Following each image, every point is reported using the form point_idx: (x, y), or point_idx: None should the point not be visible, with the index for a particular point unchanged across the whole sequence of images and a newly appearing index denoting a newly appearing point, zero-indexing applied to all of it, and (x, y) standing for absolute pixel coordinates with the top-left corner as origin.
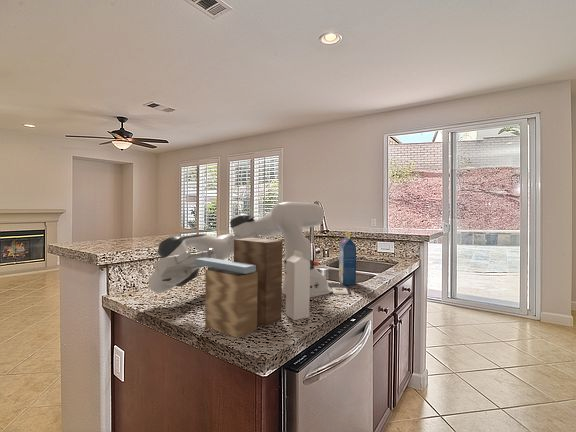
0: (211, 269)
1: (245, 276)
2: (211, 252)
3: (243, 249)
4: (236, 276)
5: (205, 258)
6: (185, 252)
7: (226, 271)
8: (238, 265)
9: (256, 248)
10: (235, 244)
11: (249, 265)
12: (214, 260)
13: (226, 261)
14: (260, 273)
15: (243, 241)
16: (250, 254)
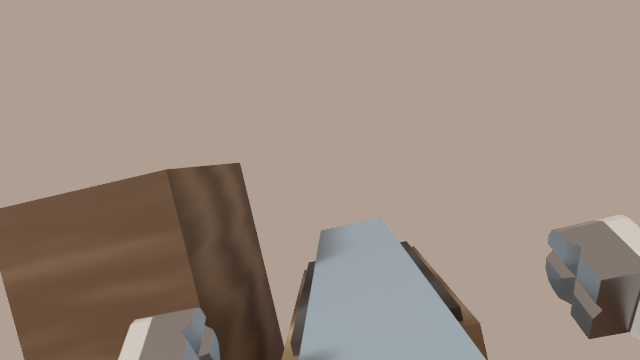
0: (450, 297)
1: None
2: (211, 343)
3: (213, 222)
4: (416, 250)
5: (363, 349)
6: (631, 224)
7: (418, 259)
8: (373, 228)
9: (233, 196)
10: (181, 206)
11: (342, 228)
12: (370, 287)
13: (339, 265)
14: (264, 301)
15: (199, 173)
16: (232, 235)
